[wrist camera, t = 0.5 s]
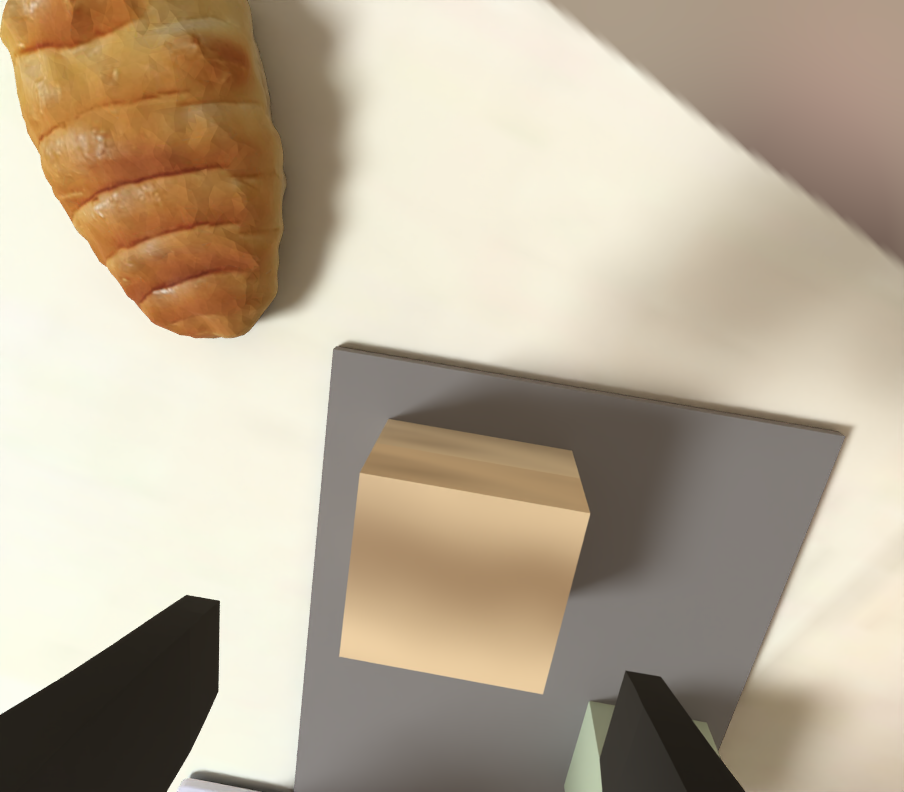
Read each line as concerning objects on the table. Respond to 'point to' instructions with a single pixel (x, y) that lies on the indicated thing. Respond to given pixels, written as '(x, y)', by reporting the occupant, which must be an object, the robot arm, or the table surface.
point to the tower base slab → (479, 447)
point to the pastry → (159, 149)
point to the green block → (599, 748)
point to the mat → (594, 584)
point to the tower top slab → (461, 566)
